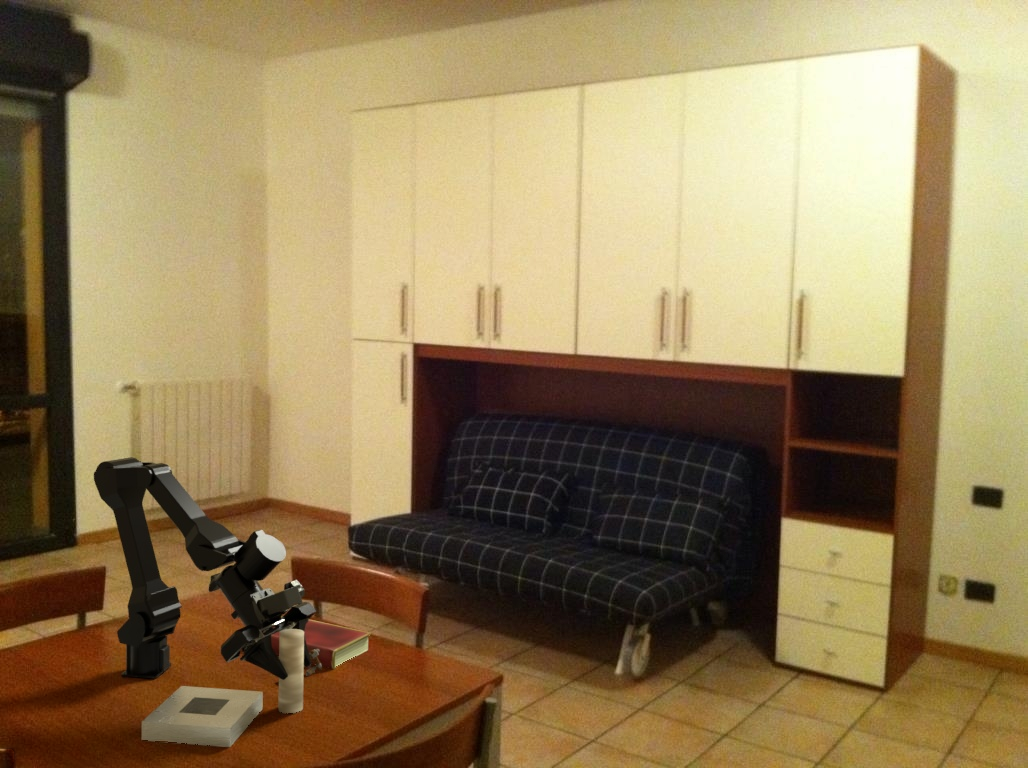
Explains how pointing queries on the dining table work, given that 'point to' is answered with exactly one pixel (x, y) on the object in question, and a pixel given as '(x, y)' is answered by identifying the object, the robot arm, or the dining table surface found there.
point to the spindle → (291, 670)
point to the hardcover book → (330, 642)
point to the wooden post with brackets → (314, 656)
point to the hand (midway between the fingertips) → (297, 671)
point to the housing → (203, 716)
